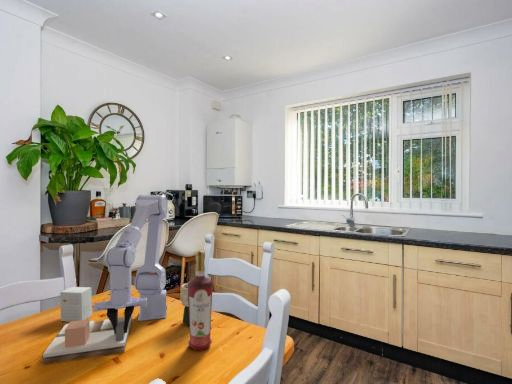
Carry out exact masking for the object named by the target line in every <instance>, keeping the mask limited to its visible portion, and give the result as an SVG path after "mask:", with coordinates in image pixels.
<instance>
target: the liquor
mask: <svg viewBox="0 0 512 384" xmlns="http://www.w3.org/2000/svg"><path fill="white" fill-rule="evenodd" d="M205 256H206V253H205V250H196V251H195V272H194V273H195V275H194V278H191V279H190V280H189V281H188V282H187V283H188V284H187V285H188V306H189V324H188V326H189V340H188V345H189V347H191V348H192V349H193V350H196V351H204V350H206V349H207V348H208V347H209V346H210V345H211V344H212V343H213V339H212V338H211V329H212V328H211V326H212V324H211V322H212V306H213V305H212V304H213V283H214V281H213V280H212V279H210V278H209V277H206V267H205V259H206V257H205Z"/></svg>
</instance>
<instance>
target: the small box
mask: <svg viewBox="0 0 512 384" xmlns="http://www.w3.org/2000/svg"><path fill="white" fill-rule="evenodd" d="M59 299H60V322H62V321H66V322H65V323H67V322H69V323H70V322H72V321H81V320H88V319H89V318H90V317H92V316H93V303H92V299H93V297H92V287H89V286H87V287H85V286H84V287H83V286H71V287H68V288H66V289H64V290H62V291H60V298H59Z"/></svg>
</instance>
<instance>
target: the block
mask: <svg viewBox="0 0 512 384" xmlns="http://www.w3.org/2000/svg"><path fill="white" fill-rule="evenodd" d="M90 321H91V320H90V319H86V320H81V321H72V322H69V323H67V324H68V326H67V327H66V329H65V347H72V346H79V345H85V344H86V342H87V340H88V338H89V336H90Z"/></svg>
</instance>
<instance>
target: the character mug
mask: <svg viewBox="0 0 512 384" xmlns="http://www.w3.org/2000/svg"><path fill="white" fill-rule="evenodd" d="M187 284H188V282H187V283H186V282H185V283H183V284H182V285H181V305H182V306H184V309H183V315H182V323H184V324H186V325H189V306H188V285H187Z"/></svg>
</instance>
